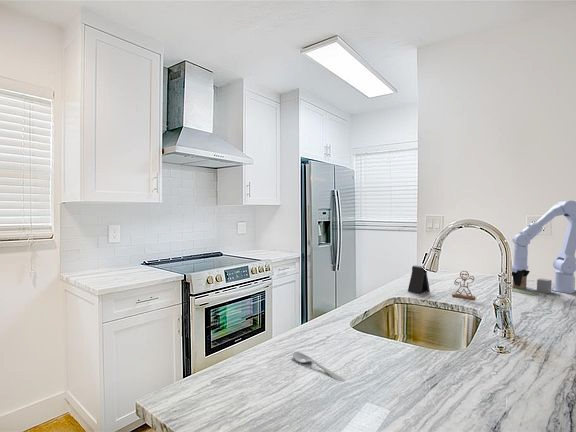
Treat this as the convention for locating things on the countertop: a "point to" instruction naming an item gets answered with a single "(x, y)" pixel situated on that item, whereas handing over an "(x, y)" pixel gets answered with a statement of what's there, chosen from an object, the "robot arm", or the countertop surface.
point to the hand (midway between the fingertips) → (519, 285)
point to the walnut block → (523, 283)
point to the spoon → (299, 356)
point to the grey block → (544, 285)
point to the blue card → (523, 289)
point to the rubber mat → (524, 292)
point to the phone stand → (418, 280)
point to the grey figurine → (464, 289)
